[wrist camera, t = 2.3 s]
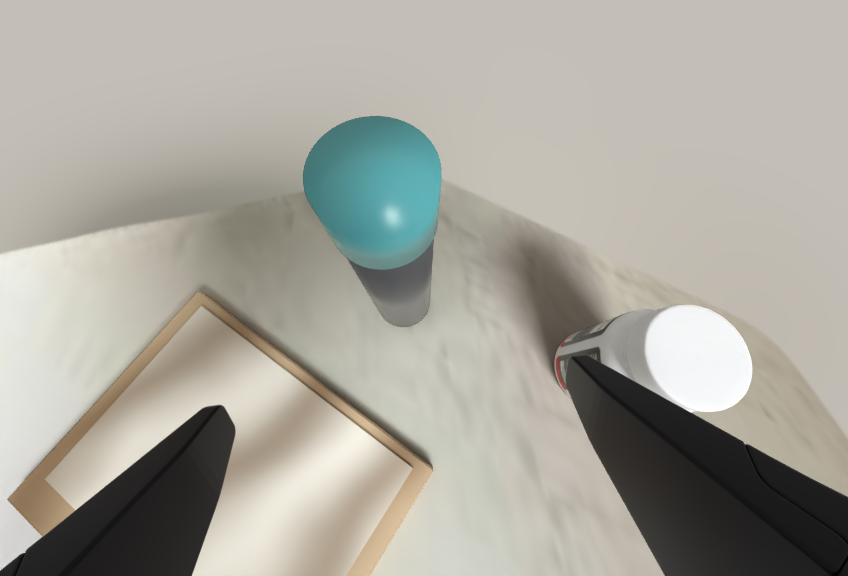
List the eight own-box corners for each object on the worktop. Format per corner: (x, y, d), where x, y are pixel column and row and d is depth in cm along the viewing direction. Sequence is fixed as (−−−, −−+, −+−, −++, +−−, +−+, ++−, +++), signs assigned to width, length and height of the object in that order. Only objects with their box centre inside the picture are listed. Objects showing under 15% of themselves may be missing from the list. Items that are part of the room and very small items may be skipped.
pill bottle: (619, 423, 19) (757, 448, 11) (542, 390, 20) (622, 392, 12) (637, 348, 21) (773, 323, 13) (564, 318, 21) (650, 277, 13)
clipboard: (432, 467, 19) (433, 475, 17) (265, 742, 15) (245, 787, 14) (205, 294, 22) (186, 286, 20) (24, 494, 18) (-18, 505, 17)
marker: (441, 294, 22) (467, 156, 9) (410, 339, 21) (387, 261, 8) (397, 265, 22) (359, 96, 9) (365, 308, 21) (273, 187, 8)
